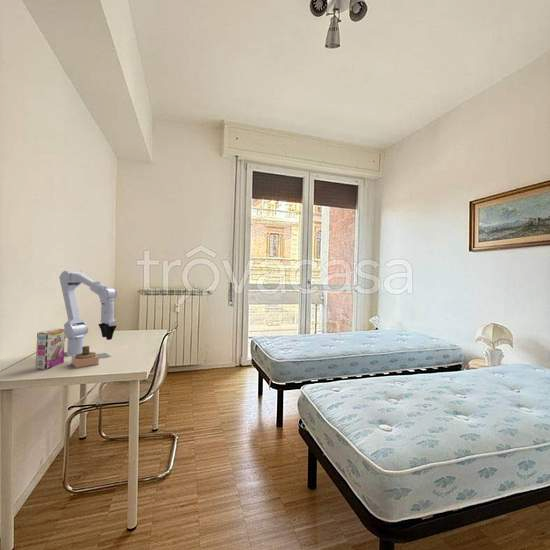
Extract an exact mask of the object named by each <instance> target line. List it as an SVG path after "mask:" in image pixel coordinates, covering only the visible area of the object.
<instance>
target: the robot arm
mask: <svg viewBox="0 0 550 550" xmlns="http://www.w3.org/2000/svg"><path fill="white" fill-rule="evenodd" d="M58 278H59V282H60V287H61V291H62V295H63V302H64V305H65V306H64V307H65V310H66V315H67V321H66V322H65V323H64V324H63V329H65V338H66V339H67V341H66V342H67V344H66V345H67V346H66V351H64V354H66V355H67V357H72V356H76V354H79V353H82V347H84V346H85V337H86V335H87V334H88V332H89V327H88V325H87V323H86V320H85V319H83V318H81V314H80V310H79V305H78V300H77V296H76V291H75V290H76V288H78V287H79V286H80V285H81V284H83V285H85V286H87V287H89V290H90V291H91V292H93V293H94V294H96V295H97V296H98V297H99V302H100V304H101V305H100V306H101V307H100V309H101V310H100V323H98V324H97V325H98V327H99V329H100V333H101V337H102V338H105V339H106V340H107V341H110V340H113V337H114V332H115V330H116V328H117V325H115V322H117V319H115V318H114V317H115V299H116V298H117V296H118V293H117V289H115V288H114V287H109V286H108V285H105V284H103V282H102V281H101V280H93V279H92V278H90V277H89V276H87V275H86V273H85V272H83V271H81V270H79V271H77V270H76V271H74V270H72V271H70V270H68V271H67V270H63V271H62V272H61V274H60V275H59V277H58Z"/></svg>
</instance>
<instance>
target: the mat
mask: <svg viewBox="0 0 550 550" xmlns="http://www.w3.org/2000/svg"><path fill="white" fill-rule="evenodd" d="M96 355H97V356H98V357H99V360H101V359H106V358H112V356H111V355H109V354H108V353H107V352H103V353H97V354H96Z"/></svg>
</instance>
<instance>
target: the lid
mask: <svg viewBox="0 0 550 550" xmlns="http://www.w3.org/2000/svg"><path fill="white" fill-rule="evenodd" d="M75 356H76V358H77V359H86V358H91V357H94V356H96V352H94V351H90V345H84V347H82V353H79V354H76V355H75Z"/></svg>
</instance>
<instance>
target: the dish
mask: <svg viewBox="0 0 550 550" xmlns="http://www.w3.org/2000/svg"><path fill="white" fill-rule="evenodd" d="M99 360H100V359H99V357H98V356H97V355H96V356H94V357H91V358H86V359H77V358H76V355H73V356H71V365H72V367H74V368H75V369H80V368H86V367H92V366H97V365H98V366H99Z"/></svg>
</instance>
